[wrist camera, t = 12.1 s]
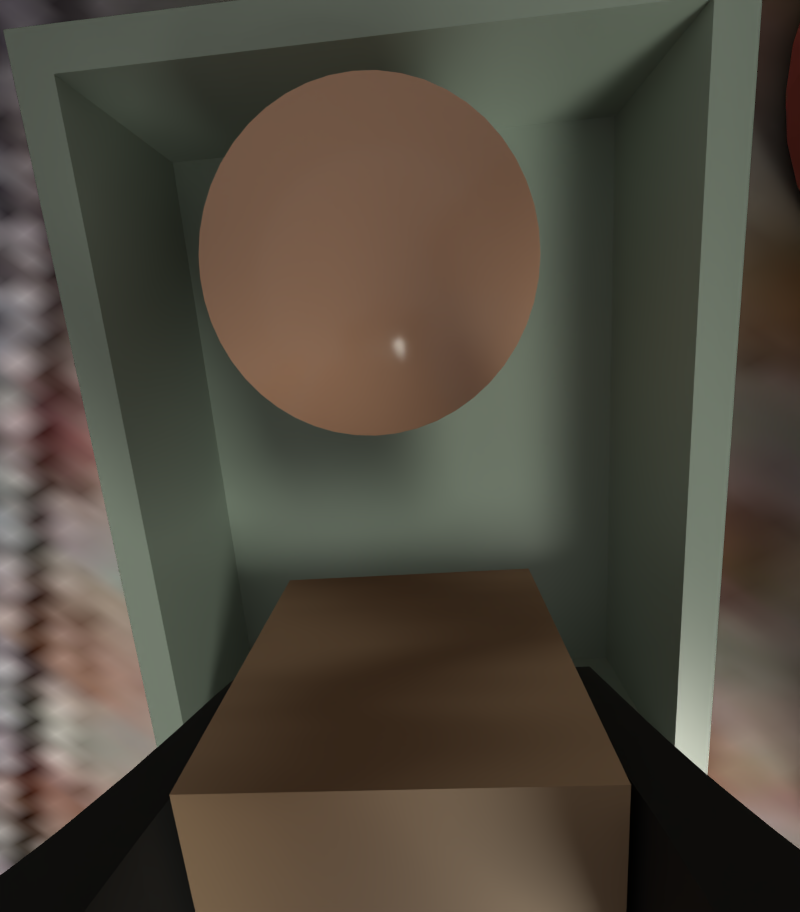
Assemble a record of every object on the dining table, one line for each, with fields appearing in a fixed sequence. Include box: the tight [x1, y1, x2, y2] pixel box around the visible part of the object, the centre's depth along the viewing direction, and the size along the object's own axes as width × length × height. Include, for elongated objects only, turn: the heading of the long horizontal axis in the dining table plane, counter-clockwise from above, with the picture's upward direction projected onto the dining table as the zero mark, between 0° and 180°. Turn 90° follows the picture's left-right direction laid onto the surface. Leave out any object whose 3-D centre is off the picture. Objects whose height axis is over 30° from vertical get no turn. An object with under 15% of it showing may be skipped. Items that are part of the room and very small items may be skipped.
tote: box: [3, 0, 762, 774], centre depth 13 cm, size 14×18×5 cm
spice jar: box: [199, 70, 540, 436], centre depth 10 cm, size 5×5×7 cm
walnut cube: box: [169, 569, 631, 912], centre depth 8 cm, size 5×5×5 cm
